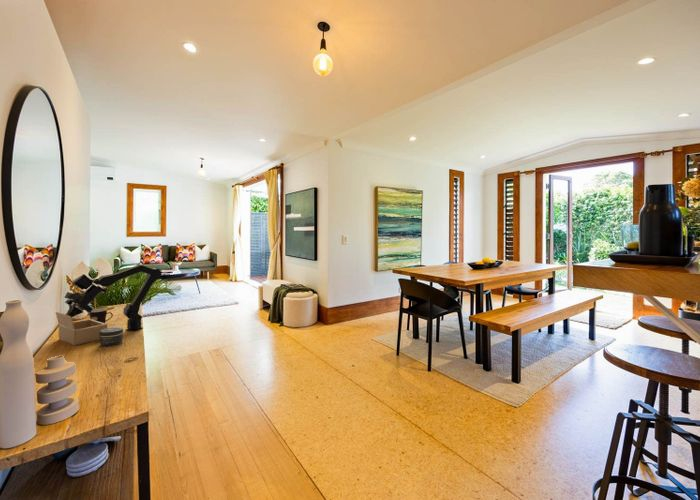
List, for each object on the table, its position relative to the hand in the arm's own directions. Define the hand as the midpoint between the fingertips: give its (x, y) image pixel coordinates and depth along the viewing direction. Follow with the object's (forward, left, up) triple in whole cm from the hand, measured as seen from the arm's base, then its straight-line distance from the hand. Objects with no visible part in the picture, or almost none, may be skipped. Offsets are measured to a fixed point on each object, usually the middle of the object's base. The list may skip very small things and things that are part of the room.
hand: (64, 319), depth 162 cm
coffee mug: (+9, -28, -13) cm, 32 cm away
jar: (-24, -4, -13) cm, 27 cm away
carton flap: (0, 0, -4) cm, 4 cm away
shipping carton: (-3, -7, -12) cm, 15 cm away
